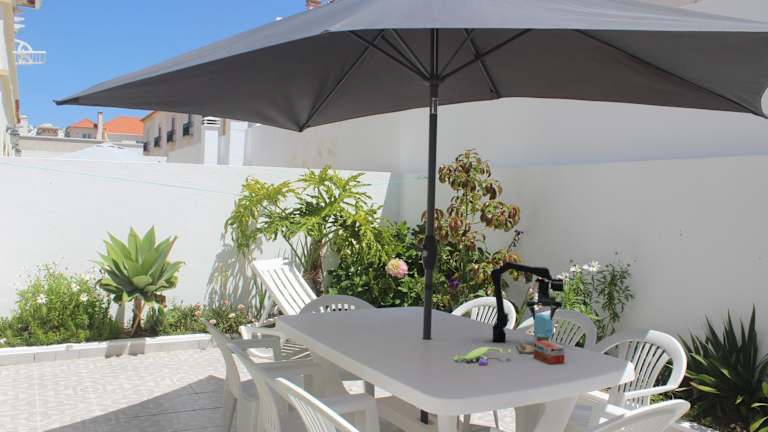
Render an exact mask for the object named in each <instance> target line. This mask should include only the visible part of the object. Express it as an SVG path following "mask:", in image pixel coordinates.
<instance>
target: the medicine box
mask: <svg viewBox="0 0 768 432" xmlns="http://www.w3.org/2000/svg"><path fill="white" fill-rule="evenodd" d="M533 345H534V354H533V358H534V359H537V360H539V361H542V362H544V363H546V364H549V365H554V364H565V346H563V345H560V344H557V343H554V342H553V341H534V340H533Z"/></svg>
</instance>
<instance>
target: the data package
mask: <svg viewBox="0 0 768 432" xmlns="http://www.w3.org/2000/svg"><path fill="white" fill-rule="evenodd" d="M534 333H543V334H546V335H547V336H548V337H549V339H551V338H553V319H552V320H550V315H547V314H543V313H539V314H536V313H535V320H533V334H534Z"/></svg>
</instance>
